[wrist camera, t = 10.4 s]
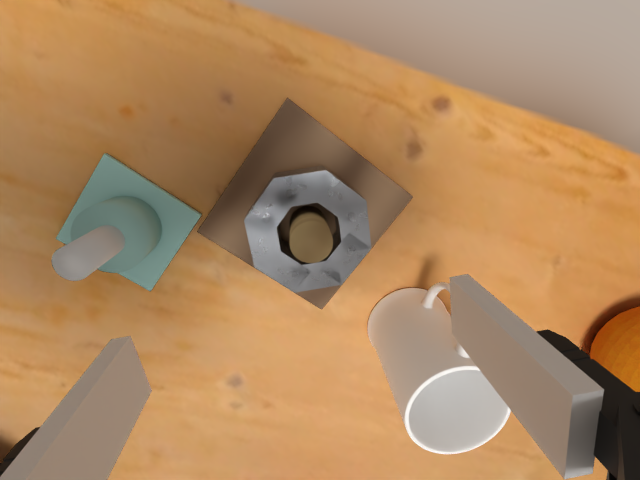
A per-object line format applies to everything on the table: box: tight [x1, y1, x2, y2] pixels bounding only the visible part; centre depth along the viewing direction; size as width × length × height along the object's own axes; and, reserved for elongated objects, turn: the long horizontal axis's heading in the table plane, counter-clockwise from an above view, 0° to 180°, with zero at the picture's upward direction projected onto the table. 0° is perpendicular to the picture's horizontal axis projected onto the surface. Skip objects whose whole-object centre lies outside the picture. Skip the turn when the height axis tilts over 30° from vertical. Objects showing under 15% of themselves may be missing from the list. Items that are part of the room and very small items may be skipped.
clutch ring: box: [244, 165, 371, 293], centre depth 28 cm, size 9×9×3 cm
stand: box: [52, 153, 202, 291], centre depth 27 cm, size 9×9×9 cm
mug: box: [367, 282, 511, 454], centre depth 31 cm, size 12×8×12 cm
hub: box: [197, 98, 413, 309], centre depth 28 cm, size 14×14×8 cm
